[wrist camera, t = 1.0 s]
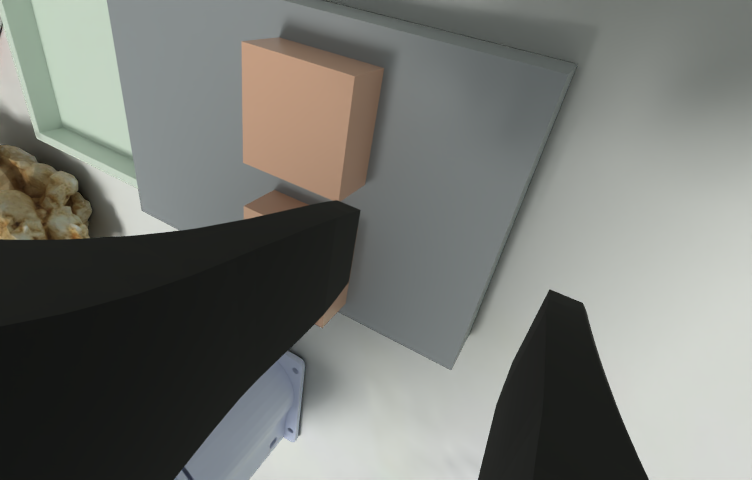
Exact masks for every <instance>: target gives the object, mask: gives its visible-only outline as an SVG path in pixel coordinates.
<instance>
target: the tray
mask: <svg viewBox="0 0 752 480" xmlns="http://www.w3.org/2000/svg"><path fill="white" fill-rule="evenodd" d="M0 16H1V20H2V23H3V27H4V30H5V33H6V37H7V40H8V44H9V47H10V50H11V54H12V57H13V61H14V64H15V67H16V71H17V74H18V78H19V81H20V84H21V88H22V91H23V95H24V98H25V101H26V105H27V108H28V112H29V115H30V118H31V122H32V125H33V129H34V132H35V135H36V139H38V140H40V141H42V142H44V143H46V144H48V145H50V146H52V147H55V148H57V149H59V150H61V151H63V152H65V153H67V154H69V155H71V156H73V157H75V158H77V159H79V160H81V161H83V162H85V163H87V164H89V165H91V166H93V167H95V168H97V169H99V170H101V171H103V172H105V173H107V174H109V175H111V176H113V177H115V178H117V179H119V180H121V181H123V182H125V183H127V184H129V185H131V186H133V187H135V188H137V189H138V185H137V179H136V173H135V167H134V161H133V155H132V149H131V143H130V137H129V131H128V125H127V119H126V113H125V107H124V101H123V95H122V89H121V83H120V77H119V71H118V65H117V59H116V53H115V47H114V41H113V35H112V29H111V23H110V17H109V11H108V5H107V0H0Z"/></svg>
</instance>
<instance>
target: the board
mask: <svg viewBox="0 0 752 480" xmlns="http://www.w3.org/2000/svg"><path fill="white" fill-rule="evenodd" d="M107 5H108V11H109V17H110V23H111V29H112V35H113V41H114V47H115V53H116V59H117V65H118V71H119V77H120V83H121V89H122V95H123V101H124V107H125V113H126V119H127V125H128V131H129V137H130V143H131V149H132V155H133V161H134V167H135V173H136V179H137V185H138V191H139V197H140V203H141V209H142V211H143V212H145V213H147V214H149V215H151V216H153V217H155V218H157V219H159V220H161V221H163V222H165V223H166V224H168V225H170V226H172V227H174V228H176V229H178V230H180V231H181V230H188V229H194V228H201V227H206V226H211V225H217V224H222V223H228V222H233V221H238V220H244V206H245V205H246V204H248V203H250V202H252V201H254V200H256V199H258V198H260V197H262V196H263V195H265V194H267V193H269V192H271V191H273V190H276V191H278V192H280V193H283V194H285V195H287V196H290V197H292V198H294V199H297V200H299V201H301V202H303V203H306V204H308V205H312V204H317V203H322V202H327V201H333V200H330V199H328V198H325V197H323V196H321V195H318V194H316V193H314V192H311V191H309V190H306V189H304V188H302V187H299V186H297V185H295V184H292V183H290V182H288V181H285V180H283V179H280V178H278V177H276V176H273V175H271V174H269V173H266V172H264V171H261V170H259V169H257V168H254V167H252V166H250V165H247V164H245V163H243V123H242V46H241V41H249V40H258V39H267V38H276V37H280V38H284V39H287V40H290V41H294V42H297V43H301V44H304V45H307V46H311V47H314V48H318V49H321V50H324V51H328V52H331V53H335V54H338V55H341V56H345V57H348V58H352V59H355V60H358V61H362V62H365V63H369V64H372V65H375V66H379V67H382V68H384V72H383V78H382V85H381V91H380V97H379V103H378V109H377V115H376V121H375V127H374V133H373V139H372V146H371V152H370V158H369V164H368V170H367V176H366V182H365V185H364V186H362V187H361V188H359V189H358V190H357V191H355V192H354V193H352V194H351V195H349V196H348V197H346V198H345V199H343V200H342V201H341V202H343V203H345V204H347V205H350V206H352V207H355V208H357V209H359V210H361V211H360V217H359V223H358V231H357V237H356V243H355V249H354V255H353V261H352V267H351V273H350V280H349V286H348V292H347V298H346V304H345V305H344V306H343V307H342V308H341V309H340V310H339V311H338V312H339V313H341V314H343V315H345V316H347V317H349V318H351V319H353V320H355V321H357V322H359V323H360V324H362V325H364V326H366V327H368V328H370V329H372V330H374V331H376V332H378V333H380V334H382V335H384V336H386V337H388V338H390V339H392V340H393V341H395V342H397V343H399V344H401V345H403V346H405V347H407V348H409V349H411V350H413V351H415V352H417V353H419V354H421V355H423V356H424V357H426V358H428V359H430V360H432V361H434V362H436V363H438V364H440V365H442V366H444V367H446V368H448V369H450V370H452V368H453V366H454V364H455V362H456V360H457V358H458V356H459V354H460V352H461V350H462V348H463V346H464V344H465V342H466V340H467V338H468V335H469V333H470V330H471V328H472V325H473V323H474V320H475V318H476V315H477V313H478V310H479V308H480V306H481V303H482V301H483V298H484V296H485V293H486V291H487V288H488V286H489V283H490V281H491V278H492V276H493V273H494V271H495V268H496V266H497V263H498V261H499V258H500V256H501V253H502V251H503V248H504V246H505V243H506V241H507V238H508V236H509V234H510V231H511V229H512V226H513V224H514V221H515V219H516V216H517V214H518V211H519V209H520V206H521V204H522V201H523V199H524V196H525V194H526V191H527V189H528V186H529V184H530V181H531V179H532V176H533V174H534V171H535V169H536V166H537V164H538V162H539V159H540V157H541V154H542V152H543V149H544V147H545V144H546V142H547V139H548V137H549V134H550V132H551V129H552V127H553V124H554V122H555V119H556V117H557V114H558V112H559V109H560V107H561V104H562V102H563V99H564V97H565V94H566V92H567V90H568V87H569V85H570V82H571V80H572V77H573V75H574V72H575V70H576V67H577V65H578V64H575V63H571V62H567V61H563V60H559V59H555V58H551V57H547V56H543V55H539V54H535V53H531V52H527V51H523V50H519V49H515V48H511V47H507V46H503V45H499V44H495V43H491V42H487V41H483V40H479V39H475V38H471V37H467V36H463V35H459V34H455V33H451V32H447V31H443V30H439V29H435V28H431V27H427V26H423V25H419V24H415V23H412V22H408V21H404V20H400V19H396V18H392V17H388V16H384V15H380V14H376V13H372V12H368V11H364V10H360V9H356V8H352V7H348V6H344V5H340V4H336V3H332V2H328V1H324V0H107Z"/></svg>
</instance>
